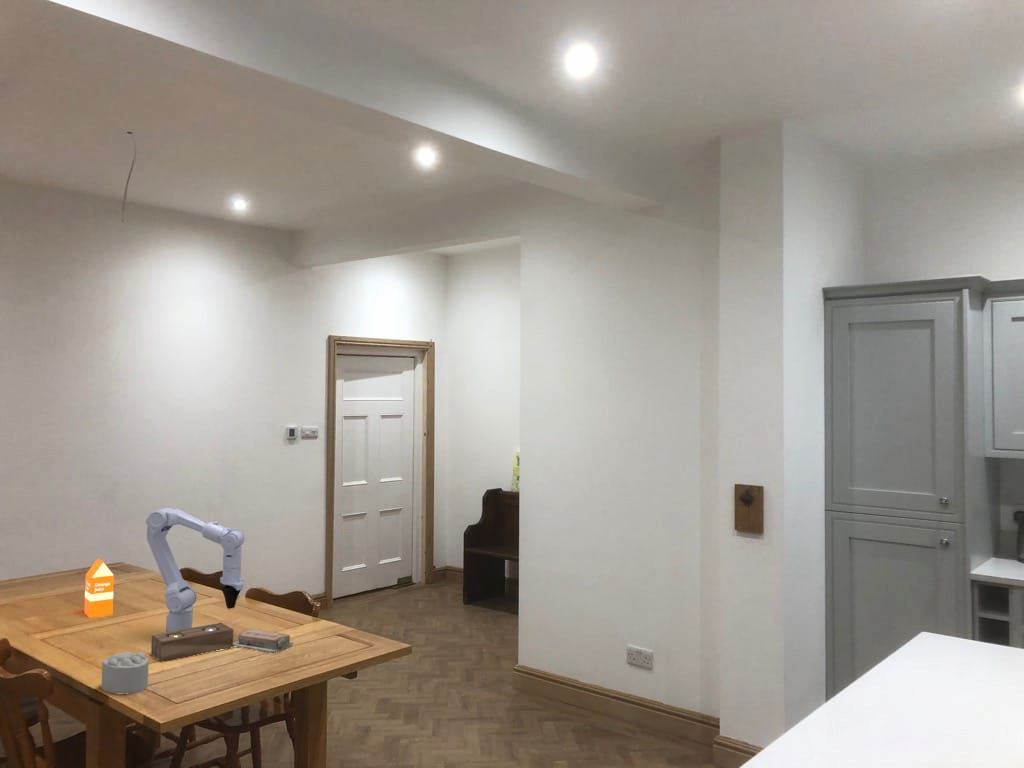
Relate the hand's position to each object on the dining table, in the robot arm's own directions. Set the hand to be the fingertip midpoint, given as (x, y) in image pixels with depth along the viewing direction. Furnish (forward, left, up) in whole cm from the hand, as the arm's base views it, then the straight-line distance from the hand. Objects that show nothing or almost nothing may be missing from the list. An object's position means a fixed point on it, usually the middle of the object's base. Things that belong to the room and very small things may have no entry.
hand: (230, 608), depth 258 cm
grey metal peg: (+5, -8, -10) cm, 14 cm away
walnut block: (+5, -14, -10) cm, 18 cm away
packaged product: (+13, +5, -11) cm, 18 cm away
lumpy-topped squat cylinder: (+25, -39, -11) cm, 48 cm away
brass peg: (+5, -20, -10) cm, 23 cm away
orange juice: (-61, -25, -11) cm, 67 cm away
